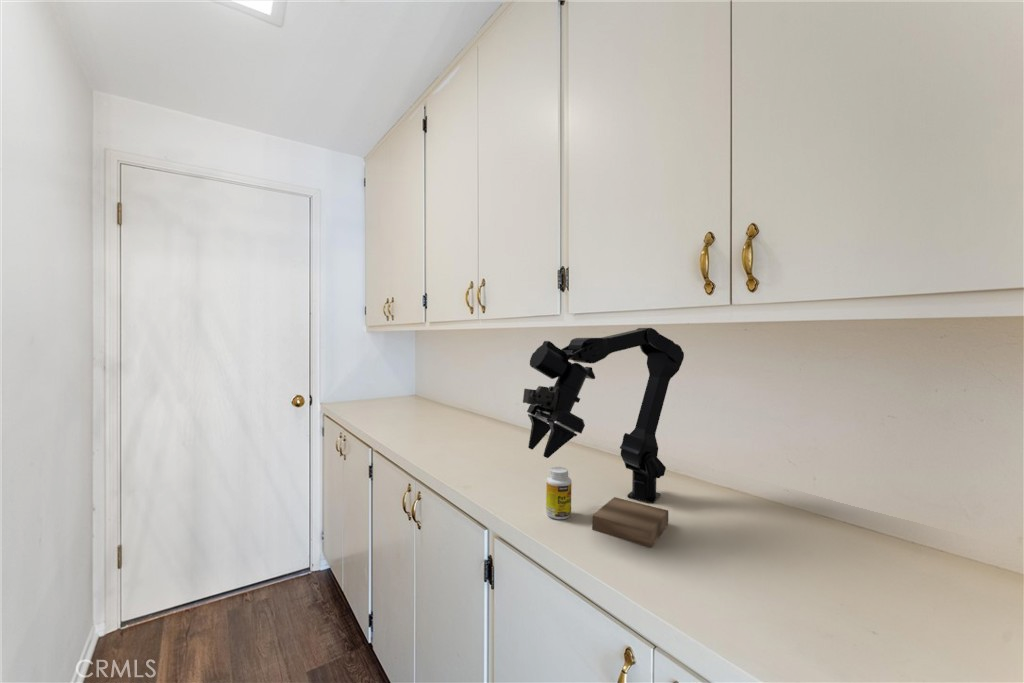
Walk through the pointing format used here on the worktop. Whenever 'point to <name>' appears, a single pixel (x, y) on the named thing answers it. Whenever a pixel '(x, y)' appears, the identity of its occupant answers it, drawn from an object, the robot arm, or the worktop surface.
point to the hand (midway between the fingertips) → (537, 452)
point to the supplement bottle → (558, 493)
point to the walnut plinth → (630, 521)
